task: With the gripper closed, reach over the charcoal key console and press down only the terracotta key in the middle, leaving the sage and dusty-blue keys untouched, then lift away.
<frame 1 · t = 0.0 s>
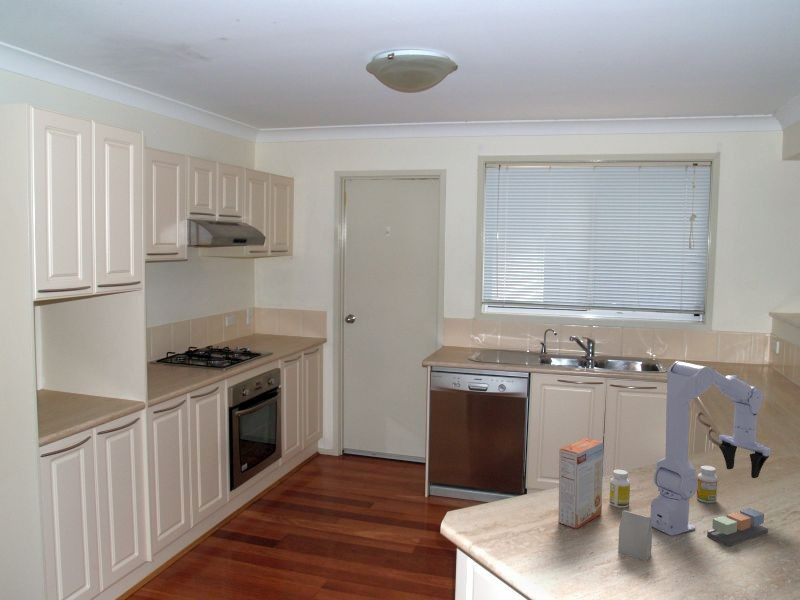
hand: (742, 473, 184), 10 cm above the worktop, tool pointing down, fingers open, 7 cm apart
supplement bottle 2: (619, 505, 186), on the worktop
blue key: (751, 517, 170), point 4 cm above the worktop, slide at 0.0 cm
supplement bottle: (706, 500, 190), on the worktop
cracker box: (579, 519, 176), on the worktop
sage key: (724, 525, 164), point 4 cm above the worktop, slide at 0.0 cm
terracotta key: (738, 521, 167), point 4 cm above the worktop, slide at 0.0 cm
console: (737, 534, 167), on the worktop
grey rectangular block: (634, 554, 157), on the worktop
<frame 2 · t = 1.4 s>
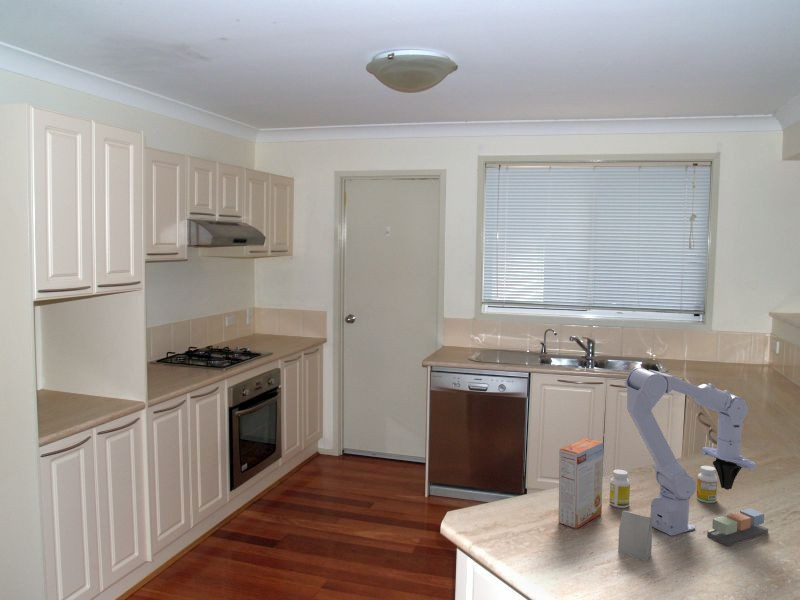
hand: (726, 488, 173), 10 cm above the worktop, tool pointing down, fingers closed
nothing on the worktop moved.
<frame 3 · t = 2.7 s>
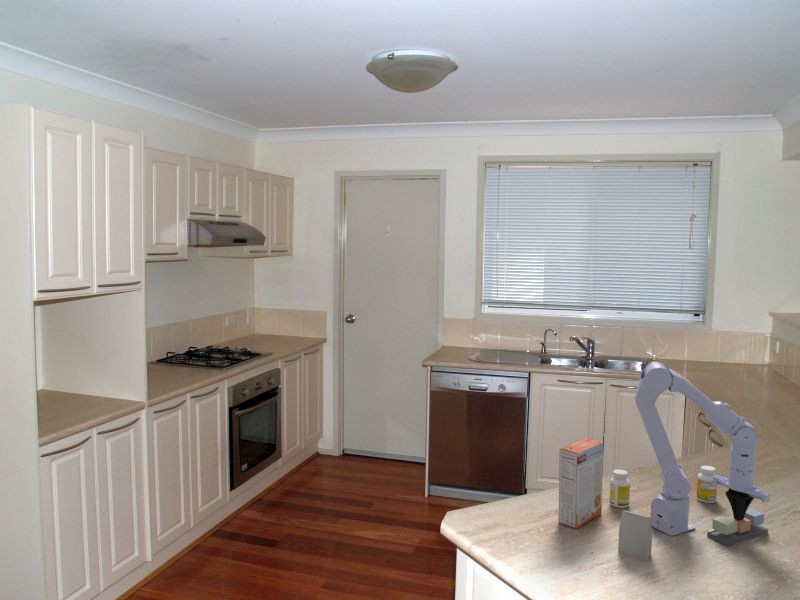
hand: (738, 519, 167), 4 cm above the worktop, tool pointing down, fingers closed, pressing on terracotta key
terracotta key: (738, 523, 167), point 3 cm above the worktop, slide at 0.7 cm, touching gripper
everything else where it was.
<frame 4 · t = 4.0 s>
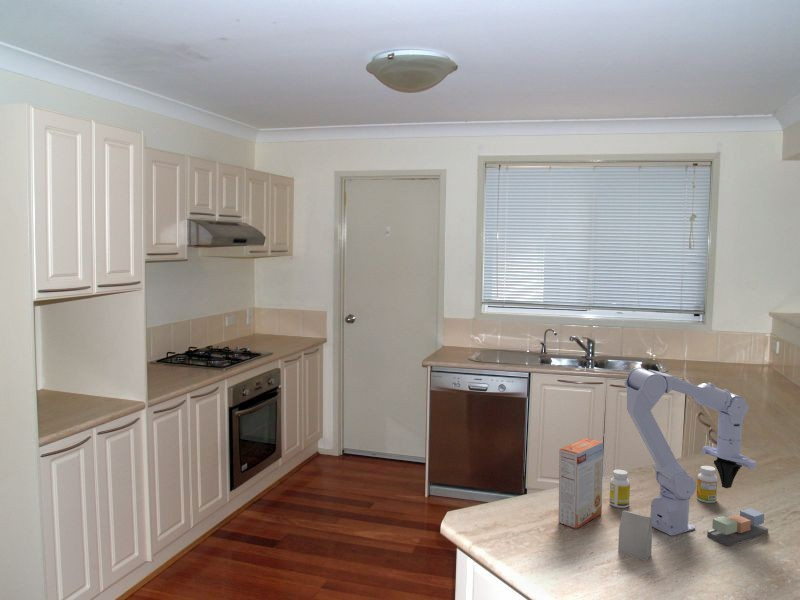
hand: (726, 487, 173), 10 cm above the worktop, tool pointing down, fingers closed
terracotta key: (738, 523, 167), point 3 cm above the worktop, slide at 0.7 cm
everything else where it was.
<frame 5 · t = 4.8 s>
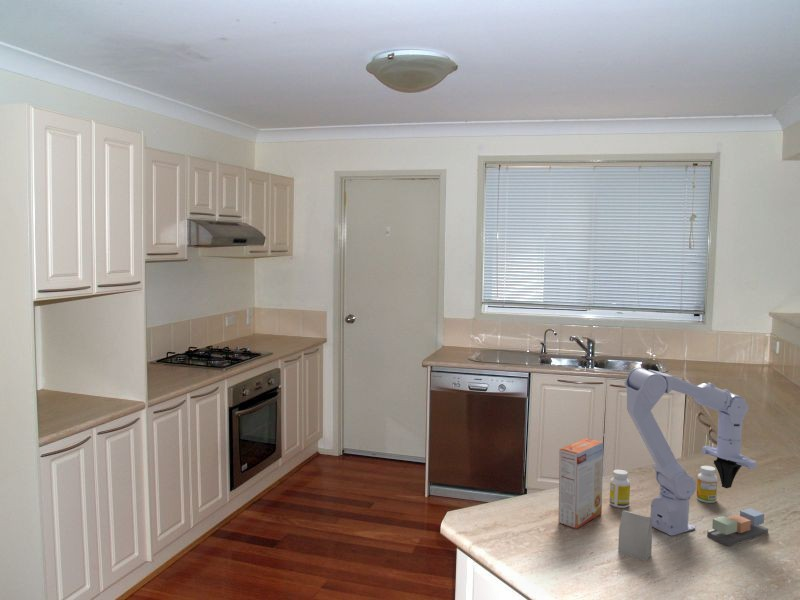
hand: (726, 487, 173), 10 cm above the worktop, tool pointing down, fingers closed
nothing on the worktop moved.
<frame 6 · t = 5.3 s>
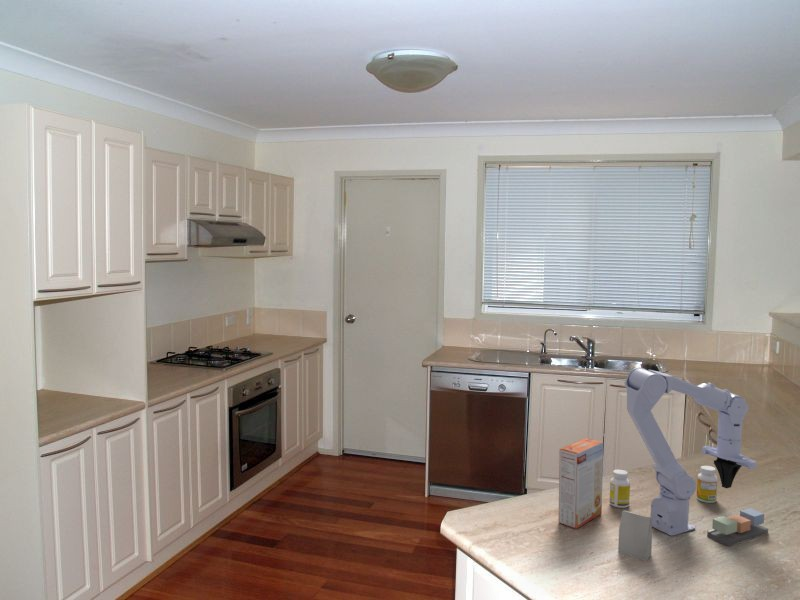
hand: (726, 487, 173), 10 cm above the worktop, tool pointing down, fingers closed
nothing on the worktop moved.
at the end: terracotta key slide at 0.7 cm; sage key slide at 0.0 cm; blue key slide at 0.0 cm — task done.
